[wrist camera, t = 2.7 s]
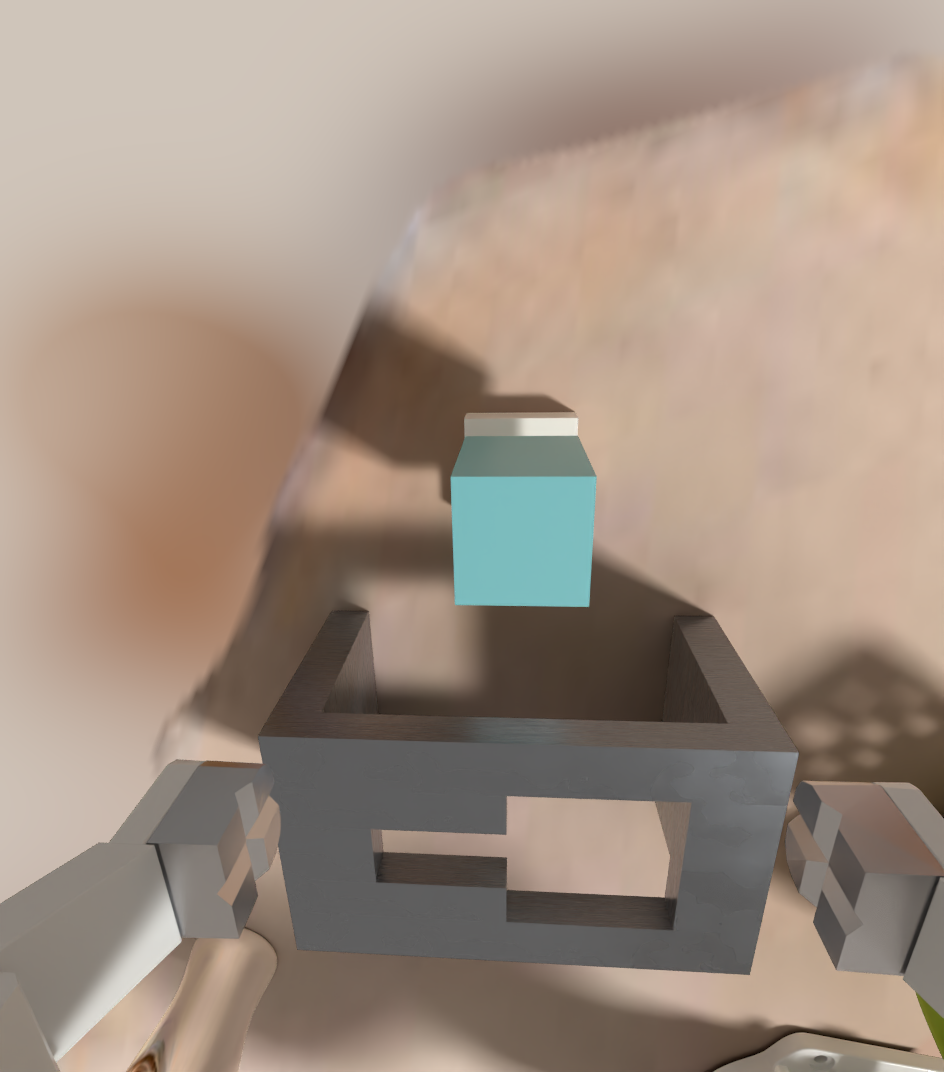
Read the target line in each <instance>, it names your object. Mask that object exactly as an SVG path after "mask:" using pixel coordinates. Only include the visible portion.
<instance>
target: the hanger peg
mask: <svg viewBox="0 0 944 1072" xmlns="http://www.w3.org/2000/svg"><path fill="white" fill-rule="evenodd" d="M464 435H465V439H464V442H463V444H462V447H461V450H460V453H459V455H458V458H457V461H456V463H455V466H454V469H453V472H452V474H451V503H452V532H453V561H454V590H455V605H491V606H564V607H589V600H590V582H591V565H592V547H593V530H594V512H595V494H596V474H595V472H594V470H593V468H592V466H591V463H590V461H589V459H588V457H587V455H586V453H585V450H584V448H583V446H582V444H581V442H580V439H579V437H578V416H577V415H576V413H575V412H511V413H466V416H465V418H464Z"/></svg>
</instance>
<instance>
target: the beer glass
mask: <svg viewBox="0 0 944 1072" xmlns="http://www.w3.org/2000/svg"><path fill="white" fill-rule="evenodd" d="M276 967H277V955H276V953H275V951H274V949H273V947H272V946H271V944H270V943H269V942H268V941H267V940H266V939H264V938H263V937H262V936H260V935H259V934H257V933H255V932H253V931H251V930H249V929H246V928H244V929H243V931H242V933H241V936H240V938H239V939H224V938H197V939H196V941H195V943H194V945H193V948H192V951H191V954H190V957H189V960H188V964H187V967H186V970H185V973H184V976H183V979H182V981H181V984H180V986H179V988H178V991H177V993H176V995H175V997H174V998H173V1000H172V1002H171V1004H170V1006H169V1008H168V1009H167V1011H166V1012H165V1014H164V1015H163V1017H162V1018H161V1020H160V1022H159V1023H158V1025H157V1026H156V1028H155V1029H154V1030H153V1032H152V1033H151V1035H150V1036H149V1038H148V1039H147V1041H146V1042H145V1044H144V1045H143V1047H142V1048H141V1050H140V1051H139V1053H138V1054H137V1056H136V1057H135V1059H134V1060H133V1062H132V1063H131V1065H130V1066H129V1068H128V1069H127V1071H126V1072H239V1067H240V1062H241V1057H242V1052H243V1048H244V1044H245V1039H246V1035H247V1032H248V1028H249V1025H250V1022H251V1019H252V1016H253V1014H254V1011H255V1009H256V1007H257V1005H258V1003H259V1001H260V999H261V997H262V995H263V993H264V991H265V990H266V988H267V986H268V984H269V982H270V981H271V979H272V977H273V975H274V973H275V970H276Z"/></svg>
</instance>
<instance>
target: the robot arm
mask: <svg viewBox="0 0 944 1072" xmlns="http://www.w3.org/2000/svg"><path fill="white" fill-rule="evenodd" d="M274 784H275V782H274V778H273V773H272V769H271V767H270V766H268V765H266V764H258V763H241V762H223V761H193V760H178V759H177V760H175V761H173V762H171V763H170V764H168V765H167V766H166V767H165V769H164V770H163V771H162V773H161V774H160V775H159V777H158V778H157V779H156V781H155V782H154V783H153V785H152V786H151V787H150V789H149V790H148V791H147V793H146V794H145V795H144V797H143V798H142V799H141V801H140V802H139V803H138V805H137V806H136V807H135V809H134V810H133V811H132V813H131V814H130V815H129V817H128V818H127V819H126V821H125V822H124V823H123V825H122V826H121V827H120V829H119V830H118V831H117V833H116V834H115V835H114V837H113V838H112V839H111V840H110V842H109V843H98V844H96V845H95V846H93V847H92V848H90V849H88V850H86V851H85V852H83V853H81V854H80V855H78V856H77V857H75V858H73V859H72V860H70V861H68V862H67V863H65V864H64V865H62V866H60V867H59V868H57V869H56V870H54V871H52V872H51V873H49V874H47V875H46V876H44V877H43V878H41V879H39V880H38V881H36V882H34V883H33V884H31V885H30V886H28V887H26V888H25V889H23V890H22V891H20V892H18V893H17V894H15V895H14V896H12V897H10V898H9V899H7V900H5V901H4V902H2V903H1V904H0V1072H60V1070H59V1068H58V1066H57V1063H56V1062H57V1061H58V1060H59V1059H60V1058H61V1057H62V1056H63V1055H64V1054H66V1053H67V1052H68V1051H69V1050H70V1049H71V1048H72V1047H73V1046H74V1045H75V1044H76V1043H77V1042H78V1041H79V1040H80V1039H81V1038H82V1037H83V1036H84V1035H85V1034H86V1033H87V1032H88V1031H89V1030H90V1029H91V1028H93V1027H94V1026H95V1025H96V1024H97V1023H98V1022H99V1021H100V1020H101V1019H102V1018H103V1017H104V1016H105V1015H106V1014H107V1013H108V1012H109V1011H110V1010H111V1009H112V1008H113V1007H114V1006H115V1005H116V1004H117V1003H118V1002H119V1001H121V1000H122V999H123V998H124V997H125V996H126V995H127V994H128V993H129V992H130V991H131V990H132V989H133V988H134V987H135V986H136V985H137V984H138V983H139V982H140V981H141V980H142V979H143V978H144V977H145V976H146V975H147V974H149V973H150V972H151V971H152V970H153V969H154V968H155V967H156V966H157V965H158V964H159V963H160V962H161V961H162V960H163V959H164V958H165V957H166V956H167V955H168V954H169V953H170V952H171V951H172V950H173V949H174V948H175V947H177V946H178V945H179V944H180V943H181V942H182V939H181V938H224V939H239V938H240V936H241V933H242V931H243V929H244V927H245V924H246V922H247V920H248V917H249V915H250V913H251V911H252V908H253V906H254V904H255V901H256V899H257V897H258V894H257V889H256V884H255V881H256V880H257V879H258V878H259V877H260V876H262V875H263V874H264V873H265V872H267V871H268V870H269V869H270V866H271V864H272V861H273V859H274V857H275V854H276V851H277V847H278V842H279V837H280V832H281V816H280V810H279V805H278V804H277V803H276V802H275V801H274V800H273V799H272V798H271V797H270V796H269V794H270V792H271V790H272V788H273V786H274ZM793 802H794V803H795V805H796V807H797V809H798V811H799V813H800V814H799V815H798V816H796V817H795V818H794V819H793V820H792V821H790V822H789V823H788V826H787V832H786V837H785V848H786V859H787V863H788V867H789V870H790V873H791V877H792V879H793V881H794V883H795V885H796V887H797V890H798V892H799V893H800V894H801V895H802V896H804V897H805V898H806V899H807V900H808V901H810V902H811V903H812V904H813V905H814V906H816V907H817V909H816V913H815V917H814V921H813V923H814V925H815V927H816V929H817V931H818V934H819V936H820V938H821V940H822V942H823V944H824V946H825V948H826V950H827V952H828V954H829V956H830V958H831V960H832V962H833V964H834V966H835V969H836V970H838V971H850V972H862V973H874V974H887V975H899V976H904V978H903V980H904V981H905V982H906V983H907V984H908V985H909V986H910V987H911V988H912V989H913V990H915V991H916V992H917V993H918V994H919V995H920V996H921V997H922V998H923V999H924V1000H925V1001H926V1002H927V1003H928V1004H929V1005H930V1006H931V1007H932V1008H933V1009H934V1010H935V1011H936V1012H937V1013H938V1014H939V1015H941V1016H942V1017H943V1018H944V818H943V817H942V816H941V815H940V813H939V812H938V811H937V810H936V809H935V807H934V806H933V805H932V804H931V803H930V801H929V800H928V799H927V798H926V797H925V795H924V794H923V793H922V792H921V791H920V790H919V789H918V788H917V787H915V786H914V785H912V784H910V783H898V782H872V783H868V782H833V781H801V782H800V784H799V785H798V786H797V788H796V791H795V795H794V799H793ZM713 1072H944V1060H943V1058H937V1057H933V1056H927V1055H922V1054H917V1053H911V1052H906V1051H901V1050H895V1049H890V1048H885V1047H879V1046H874V1045H869V1044H863V1043H858V1042H853V1041H847V1040H842V1039H837V1038H831V1037H826V1036H821V1035H815V1034H810V1033H794V1034H791V1035H788V1036H786V1037H784V1038H782V1039H781V1040H779V1041H778V1042H776V1043H775V1044H773V1045H772V1046H770V1047H769V1048H768V1049H766V1050H765V1051H763V1052H761V1053H759V1054H756V1055H754V1056H751V1057H747V1058H744V1059H741V1060H738V1061H735V1062H732V1063H730V1064H727V1065H725V1066H723V1067H721V1068H719V1069H717V1070H715V1071H713Z"/></svg>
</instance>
